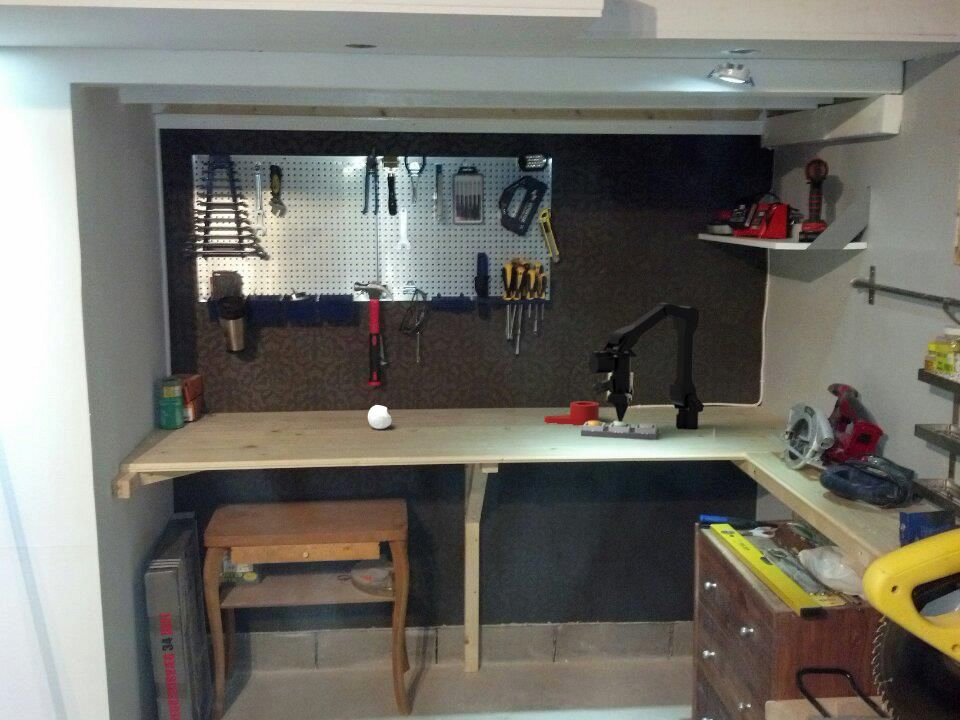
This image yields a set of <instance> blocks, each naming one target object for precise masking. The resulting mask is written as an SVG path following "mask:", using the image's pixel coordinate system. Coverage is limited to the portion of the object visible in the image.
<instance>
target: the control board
mask: <svg viewBox="0 0 960 720" xmlns="http://www.w3.org/2000/svg"><path fill="white" fill-rule="evenodd" d="M639 424H640V423H637V424H636V425H635V427H632V424H631V423H627V424H626V427H613V425H614V422H611V423H610V424H609V426H606V422H603V421H602V422H601V426H593V425H588V422H585V424H584V425H583V426H582V429H581V430H580V436H581V437H582V436H583V437H598V438H614V439H615V438H617V439H635V440H650V441H652V440H655V441H656V440H657V438H658V436H659V428H658V424H653V428H639Z"/></svg>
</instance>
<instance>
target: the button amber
mask: <svg viewBox="0 0 960 720" xmlns="http://www.w3.org/2000/svg"><path fill="white" fill-rule="evenodd" d="M588 425H593V426H601V420H599V421H596V420H591V421H588Z"/></svg>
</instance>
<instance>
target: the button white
mask: <svg viewBox="0 0 960 720" xmlns="http://www.w3.org/2000/svg"><path fill="white" fill-rule="evenodd" d="M638 424H639V428H653V425H654V424H653V423H649V422H642V423H641V422H640V423H638Z"/></svg>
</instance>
